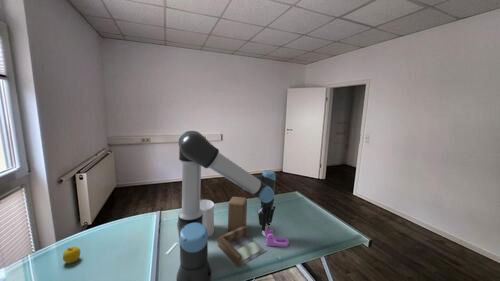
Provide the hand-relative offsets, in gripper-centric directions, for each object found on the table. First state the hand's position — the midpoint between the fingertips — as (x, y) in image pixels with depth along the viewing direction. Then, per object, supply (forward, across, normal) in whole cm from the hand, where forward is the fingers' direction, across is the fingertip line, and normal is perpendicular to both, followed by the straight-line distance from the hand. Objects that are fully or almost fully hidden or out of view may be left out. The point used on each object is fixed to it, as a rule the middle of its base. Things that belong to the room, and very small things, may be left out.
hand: (264, 234), depth 115 cm
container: (+4, -26, +29) cm, 39 cm away
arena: (+3, -14, -2) cm, 15 cm away
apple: (+6, -87, +44) cm, 98 cm away
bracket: (+2, +4, -7) cm, 8 cm away
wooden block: (+3, -7, +18) cm, 20 cm away
